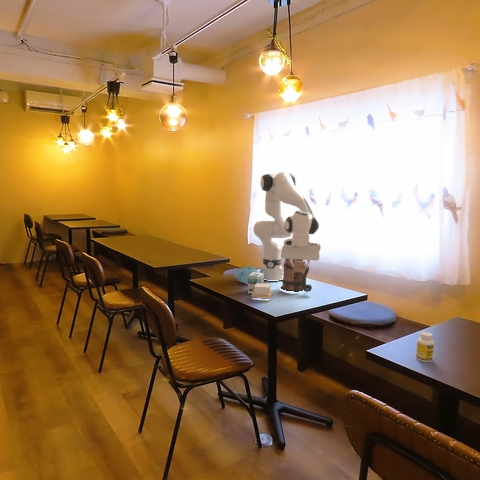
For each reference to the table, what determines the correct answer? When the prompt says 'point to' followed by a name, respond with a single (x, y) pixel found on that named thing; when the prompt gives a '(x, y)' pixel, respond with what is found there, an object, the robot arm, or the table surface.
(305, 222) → the robot arm
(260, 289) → the off-white middle block
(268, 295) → the oak base block
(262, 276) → the light bulb box
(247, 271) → the teapot
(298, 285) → the tankard
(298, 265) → the walnut block
